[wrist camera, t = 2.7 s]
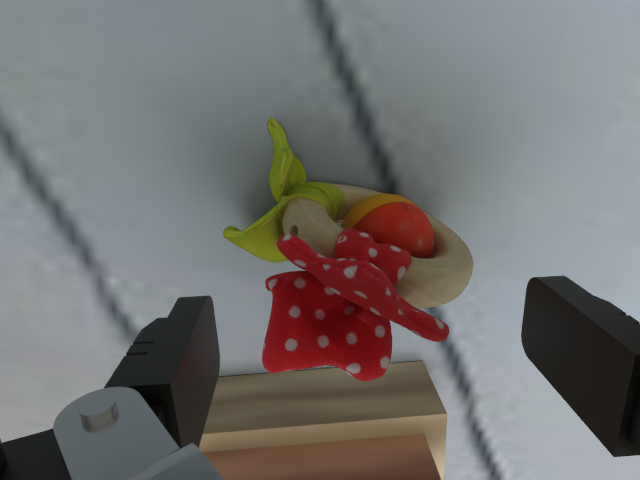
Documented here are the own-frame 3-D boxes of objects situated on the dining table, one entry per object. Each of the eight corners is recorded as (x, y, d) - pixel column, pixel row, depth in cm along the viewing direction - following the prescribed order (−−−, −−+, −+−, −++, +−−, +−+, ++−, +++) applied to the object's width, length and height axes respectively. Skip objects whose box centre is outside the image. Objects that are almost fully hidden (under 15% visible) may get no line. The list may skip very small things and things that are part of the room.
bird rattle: (395, 133, 22) (209, 105, 17) (623, 204, 13) (354, 182, 8) (366, 252, 24) (194, 253, 19) (545, 386, 15) (296, 445, 10)
